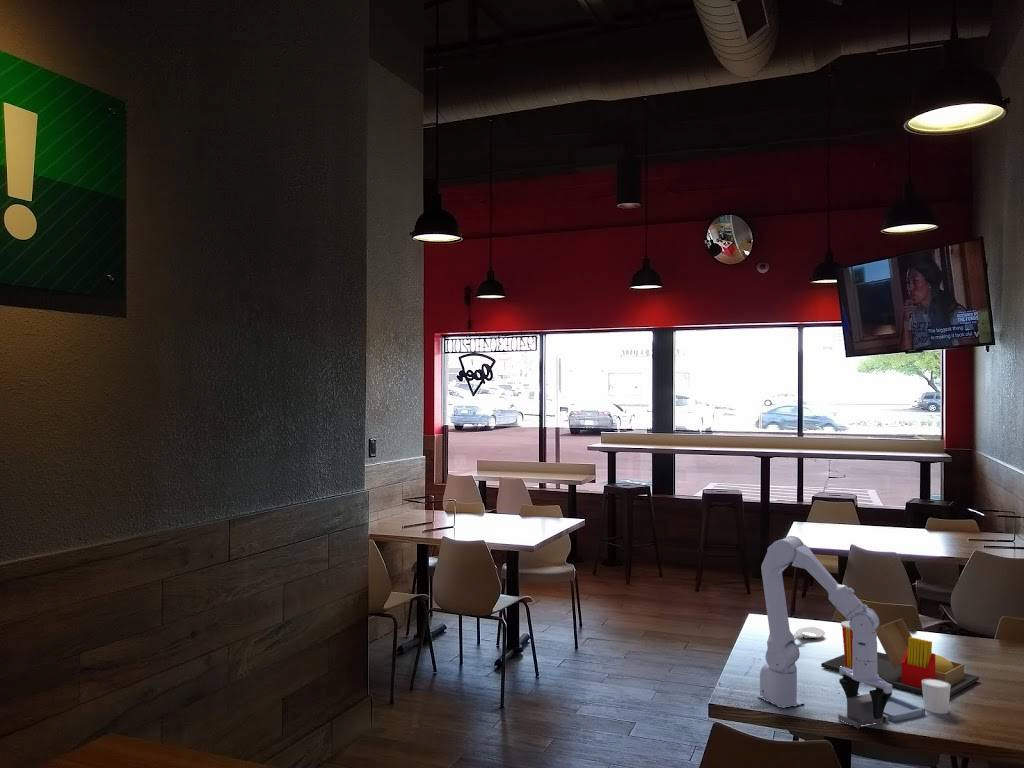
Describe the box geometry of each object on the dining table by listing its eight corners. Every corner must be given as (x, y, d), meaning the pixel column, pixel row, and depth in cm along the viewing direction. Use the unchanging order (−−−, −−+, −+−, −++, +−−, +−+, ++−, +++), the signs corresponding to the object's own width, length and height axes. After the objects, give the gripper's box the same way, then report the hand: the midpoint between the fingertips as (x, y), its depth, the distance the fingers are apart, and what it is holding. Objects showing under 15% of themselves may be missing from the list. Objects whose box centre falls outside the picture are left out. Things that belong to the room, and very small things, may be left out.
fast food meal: (943, 703, 211) (943, 634, 212) (821, 669, 238) (821, 608, 239) (978, 683, 228) (978, 619, 229) (860, 653, 255) (860, 596, 255)
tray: (858, 707, 207) (858, 701, 207) (889, 700, 212) (889, 695, 212) (893, 722, 197) (893, 716, 197) (925, 714, 202) (925, 709, 202)
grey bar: (847, 722, 197) (847, 698, 197) (869, 717, 201) (869, 693, 201) (860, 727, 194) (860, 703, 194) (882, 722, 197) (882, 698, 197)
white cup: (941, 704, 210) (941, 678, 210) (956, 714, 203) (956, 687, 203) (916, 704, 209) (916, 678, 210) (930, 714, 202) (930, 687, 203)
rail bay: (838, 720, 198) (838, 714, 198) (868, 713, 202) (868, 707, 203) (857, 729, 192) (857, 722, 193) (888, 722, 197) (888, 716, 197)
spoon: (766, 652, 255) (766, 641, 255) (803, 632, 279) (802, 622, 279) (793, 658, 249) (793, 647, 249) (828, 637, 273) (828, 627, 273)
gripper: (900, 664, 193) (901, 720, 192) (852, 648, 206) (853, 700, 205) (880, 668, 190) (881, 725, 189) (833, 651, 203) (833, 704, 202)
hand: (865, 712), depth 197 cm, fingers open, 7 cm apart
